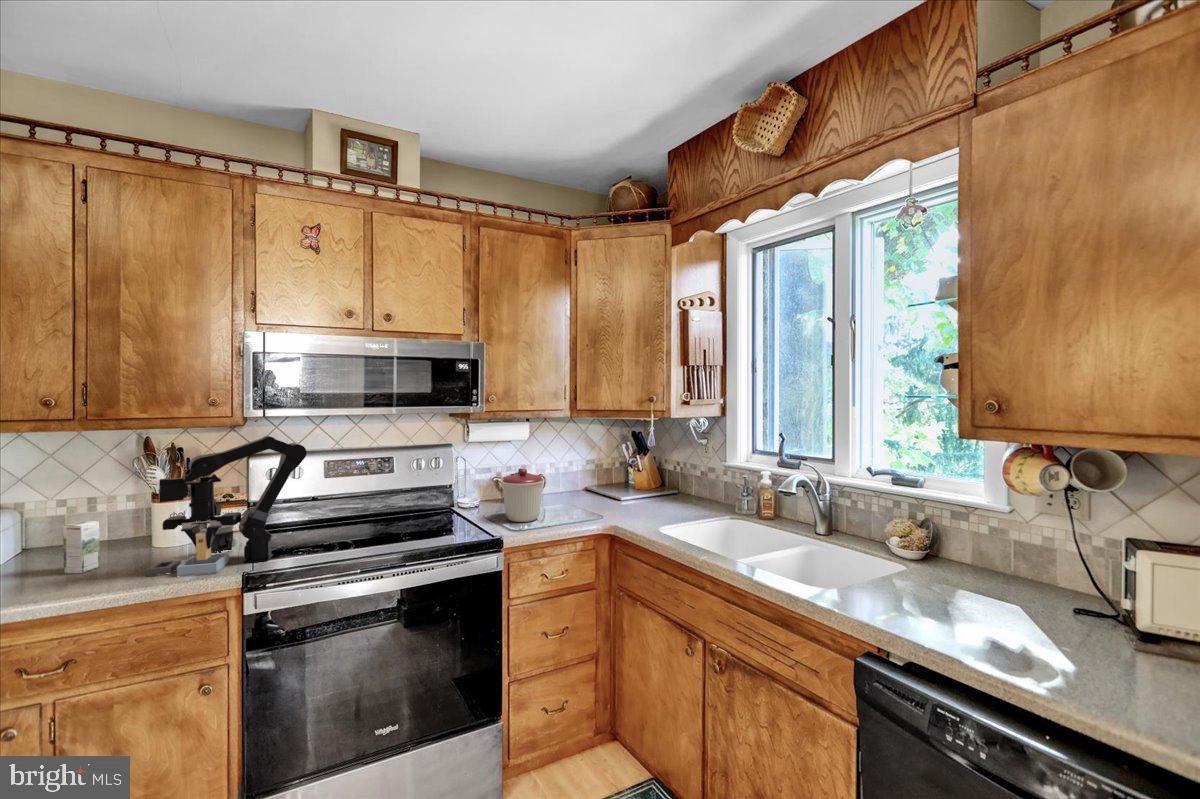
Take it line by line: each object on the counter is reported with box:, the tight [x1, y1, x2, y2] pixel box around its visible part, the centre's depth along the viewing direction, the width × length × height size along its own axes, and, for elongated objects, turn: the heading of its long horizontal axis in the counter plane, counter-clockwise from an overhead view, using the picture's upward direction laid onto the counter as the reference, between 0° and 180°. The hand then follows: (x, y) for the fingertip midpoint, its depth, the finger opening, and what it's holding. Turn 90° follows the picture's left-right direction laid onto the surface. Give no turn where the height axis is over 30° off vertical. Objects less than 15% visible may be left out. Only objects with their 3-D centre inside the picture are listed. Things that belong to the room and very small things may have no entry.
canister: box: [500, 468, 546, 523], centre depth 225 cm, size 18×18×21 cm
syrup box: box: [62, 520, 101, 574], centre depth 164 cm, size 6×6×14 cm
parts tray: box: [176, 552, 230, 577], centre depth 165 cm, size 10×10×3 cm
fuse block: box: [145, 559, 182, 577], centre depth 164 cm, size 6×7×2 cm
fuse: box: [195, 530, 211, 560], centre depth 165 cm, size 2×4×8 cm, turn 17°
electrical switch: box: [199, 525, 234, 553], centre depth 180 cm, size 9×5×9 cm, turn 141°
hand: (203, 548), depth 165 cm, fingers closed on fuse, 2 cm apart
